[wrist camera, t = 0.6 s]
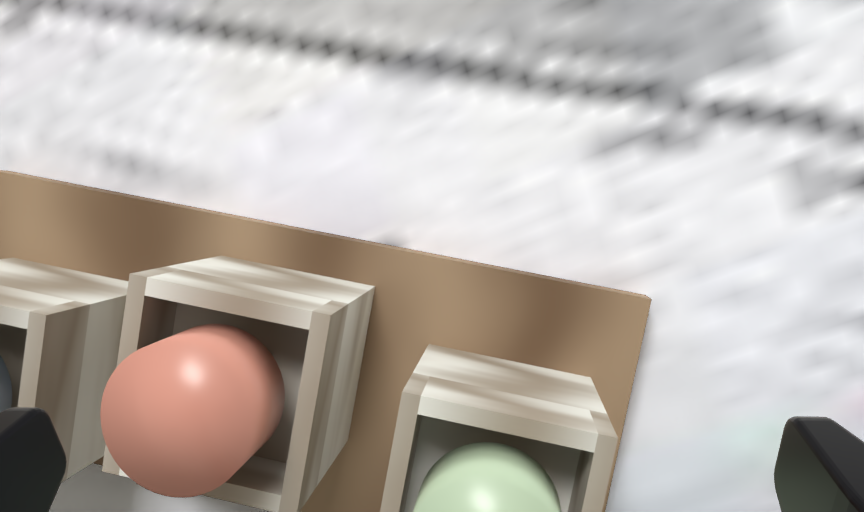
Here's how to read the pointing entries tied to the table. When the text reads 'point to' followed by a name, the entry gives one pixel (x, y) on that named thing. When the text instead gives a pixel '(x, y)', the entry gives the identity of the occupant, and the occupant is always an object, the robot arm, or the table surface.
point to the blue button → (5, 387)
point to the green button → (487, 482)
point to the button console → (316, 344)
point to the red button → (192, 409)
